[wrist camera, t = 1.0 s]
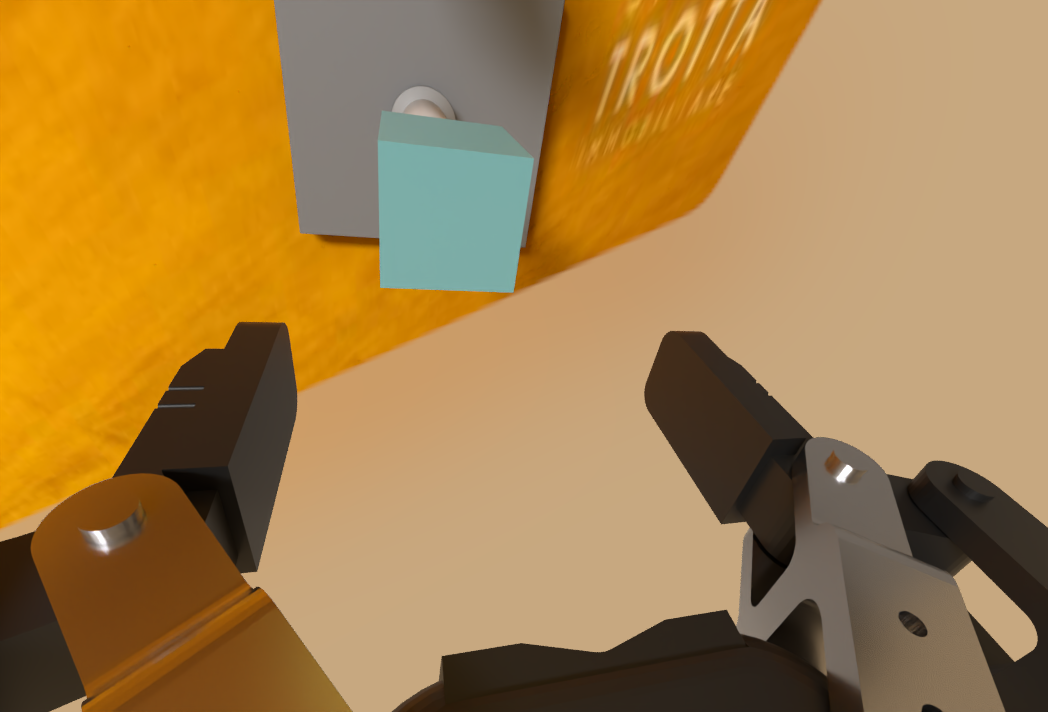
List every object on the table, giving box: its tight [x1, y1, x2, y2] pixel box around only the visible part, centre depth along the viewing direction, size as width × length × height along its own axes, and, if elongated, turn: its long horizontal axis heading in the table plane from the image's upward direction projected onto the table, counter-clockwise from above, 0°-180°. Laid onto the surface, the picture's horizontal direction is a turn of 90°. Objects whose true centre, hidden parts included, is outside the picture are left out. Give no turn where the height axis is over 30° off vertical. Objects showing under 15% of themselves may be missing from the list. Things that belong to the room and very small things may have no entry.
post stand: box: [274, 0, 565, 247], centre depth 28 cm, size 18×18×18 cm
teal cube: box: [378, 111, 534, 293], centre depth 19 cm, size 5×5×6 cm
